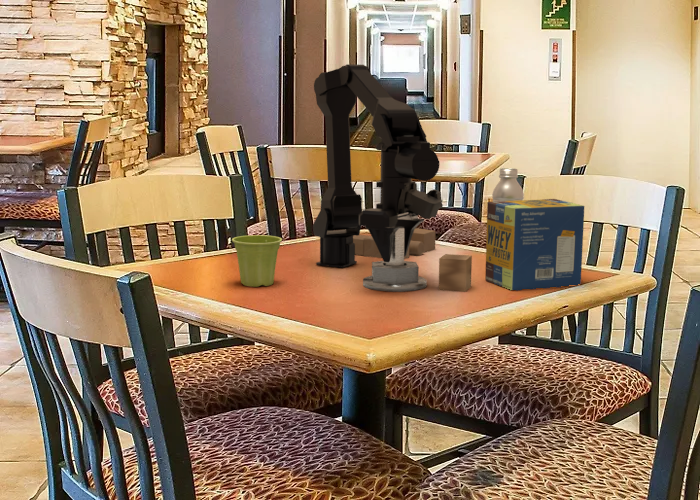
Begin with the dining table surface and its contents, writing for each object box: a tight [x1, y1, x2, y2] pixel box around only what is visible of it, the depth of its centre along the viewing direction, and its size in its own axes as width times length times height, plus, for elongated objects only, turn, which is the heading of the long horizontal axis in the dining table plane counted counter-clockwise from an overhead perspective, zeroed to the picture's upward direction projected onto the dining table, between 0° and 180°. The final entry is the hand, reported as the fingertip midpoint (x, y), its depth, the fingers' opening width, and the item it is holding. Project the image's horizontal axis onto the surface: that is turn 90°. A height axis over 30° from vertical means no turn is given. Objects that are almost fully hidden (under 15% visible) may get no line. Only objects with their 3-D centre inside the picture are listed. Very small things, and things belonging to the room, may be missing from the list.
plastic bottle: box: [491, 167, 525, 202], centre depth 210 cm, size 6×7×20 cm
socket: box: [362, 260, 428, 293], centre depth 187 cm, size 12×12×4 cm
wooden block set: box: [353, 227, 436, 260], centre depth 225 cm, size 17×6×18 cm
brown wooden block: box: [438, 253, 473, 293], centre depth 185 cm, size 5×5×6 cm
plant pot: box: [231, 234, 283, 288], centre depth 187 cm, size 9×9×9 cm
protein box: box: [484, 198, 585, 291], centre depth 189 cm, size 10×15×16 cm
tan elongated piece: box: [386, 226, 405, 267], centre depth 187 cm, size 4×3×10 cm
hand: (395, 259), depth 187 cm, fingers open, 7 cm apart
